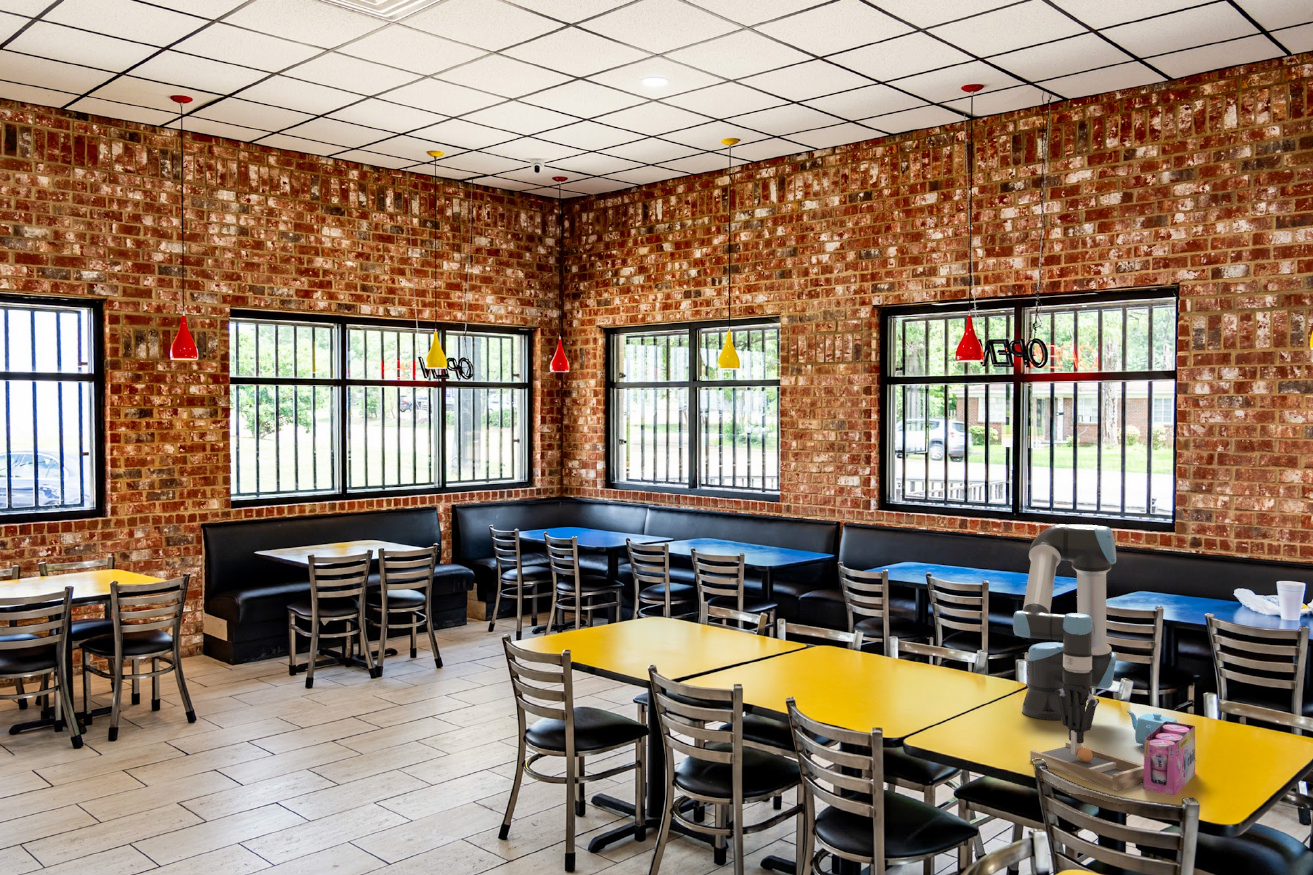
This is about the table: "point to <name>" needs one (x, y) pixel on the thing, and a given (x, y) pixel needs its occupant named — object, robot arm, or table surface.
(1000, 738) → the table surface
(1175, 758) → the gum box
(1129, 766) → the lane rails
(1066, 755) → the mat
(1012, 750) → the table surface
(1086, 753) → the ball
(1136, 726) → the teapot
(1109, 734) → the table surface
